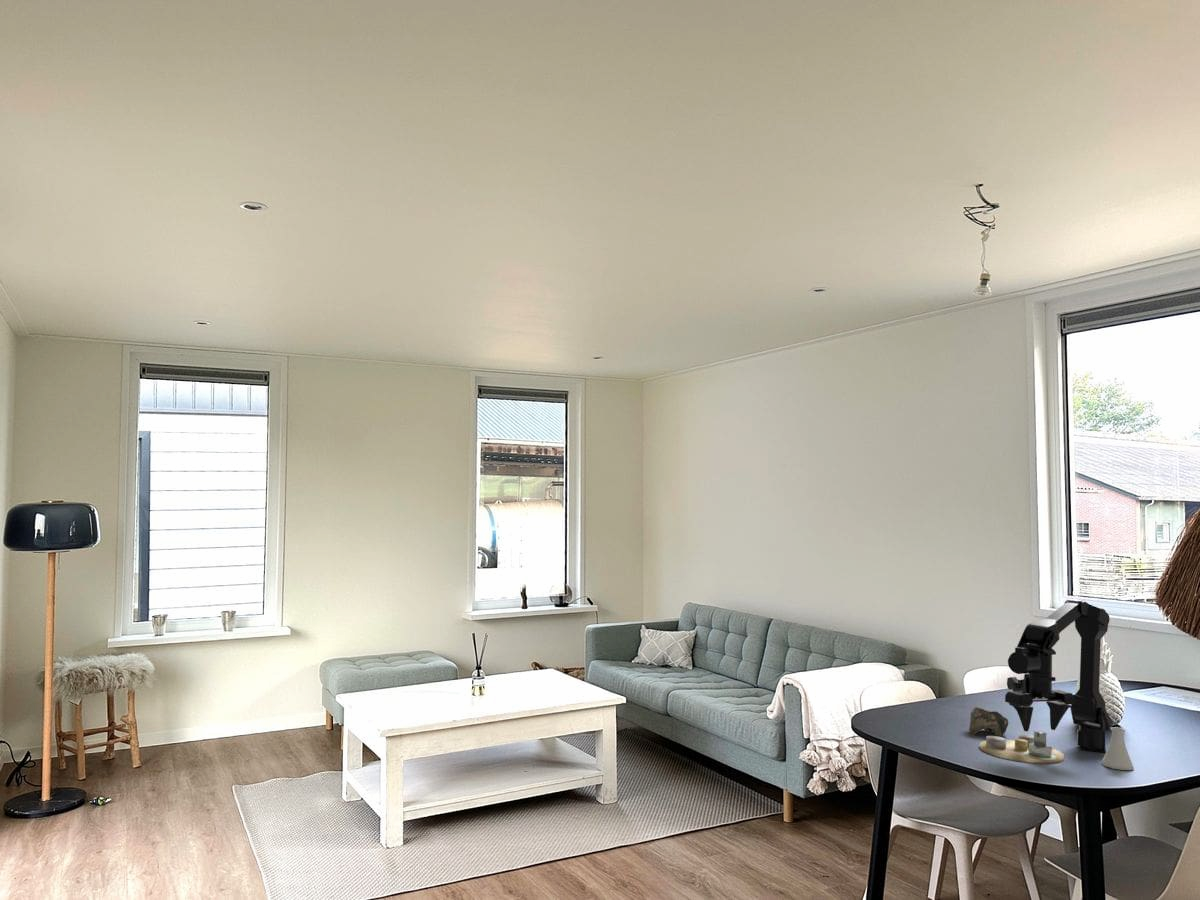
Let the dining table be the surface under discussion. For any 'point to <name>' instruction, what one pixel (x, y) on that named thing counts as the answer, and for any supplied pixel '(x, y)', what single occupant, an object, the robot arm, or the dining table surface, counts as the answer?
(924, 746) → the dining table surface
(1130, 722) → the dining table surface
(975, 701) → the dining table surface
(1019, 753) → the carrier plate
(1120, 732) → the flask
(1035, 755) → the silver metal knob
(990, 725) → the fossil
